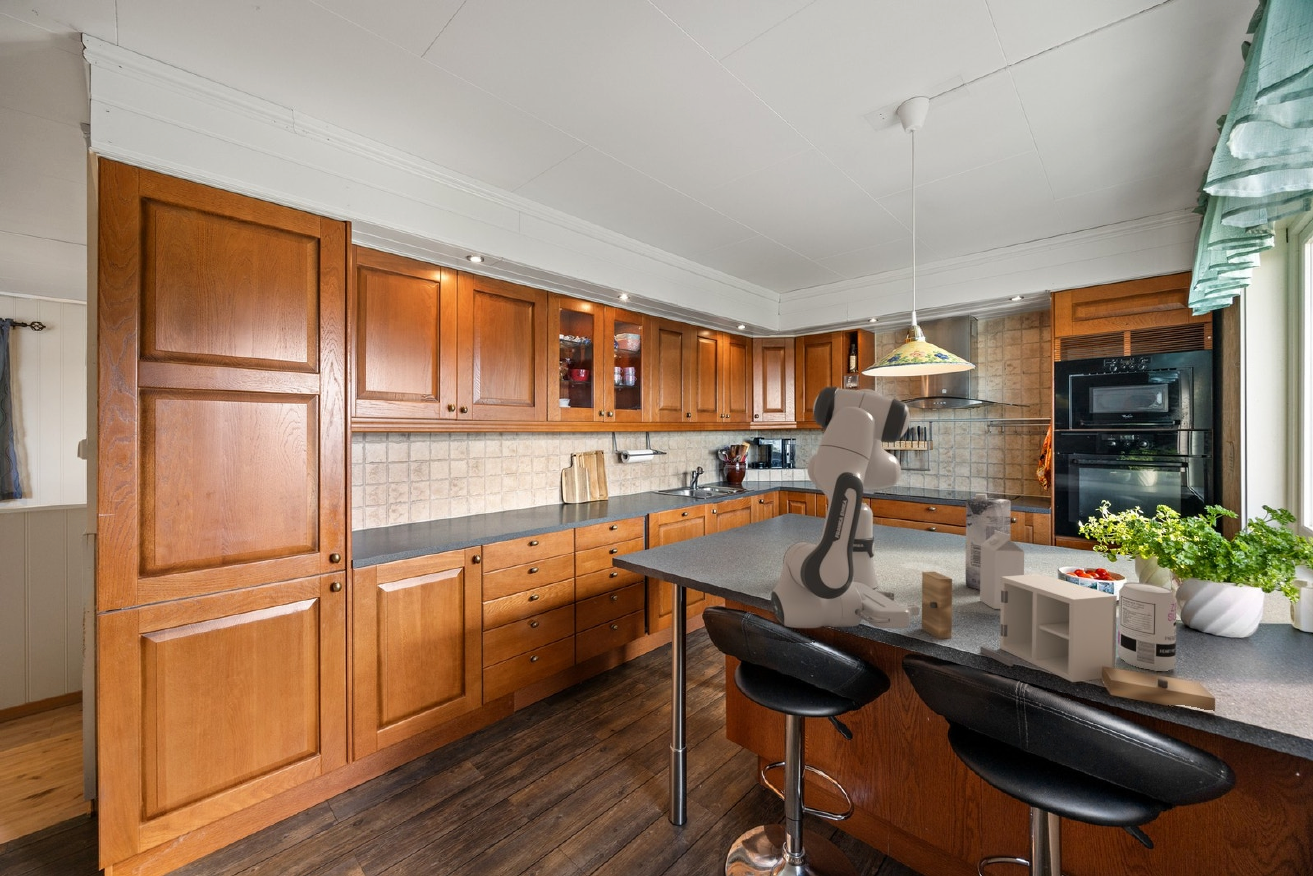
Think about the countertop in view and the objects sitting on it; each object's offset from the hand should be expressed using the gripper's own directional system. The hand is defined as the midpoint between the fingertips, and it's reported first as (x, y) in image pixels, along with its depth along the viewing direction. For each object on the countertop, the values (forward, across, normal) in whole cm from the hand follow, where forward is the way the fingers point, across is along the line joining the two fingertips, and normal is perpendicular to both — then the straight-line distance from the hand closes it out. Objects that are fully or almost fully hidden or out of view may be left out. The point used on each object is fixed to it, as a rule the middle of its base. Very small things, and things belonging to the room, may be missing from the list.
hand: (904, 602), depth 118 cm
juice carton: (+44, +30, +8) cm, 54 cm away
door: (+27, -31, +7) cm, 41 cm away
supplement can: (+38, -19, +7) cm, 43 cm away
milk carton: (+36, +15, +7) cm, 40 cm away
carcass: (+18, -17, +7) cm, 26 cm away
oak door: (+8, 0, +7) cm, 10 cm away
